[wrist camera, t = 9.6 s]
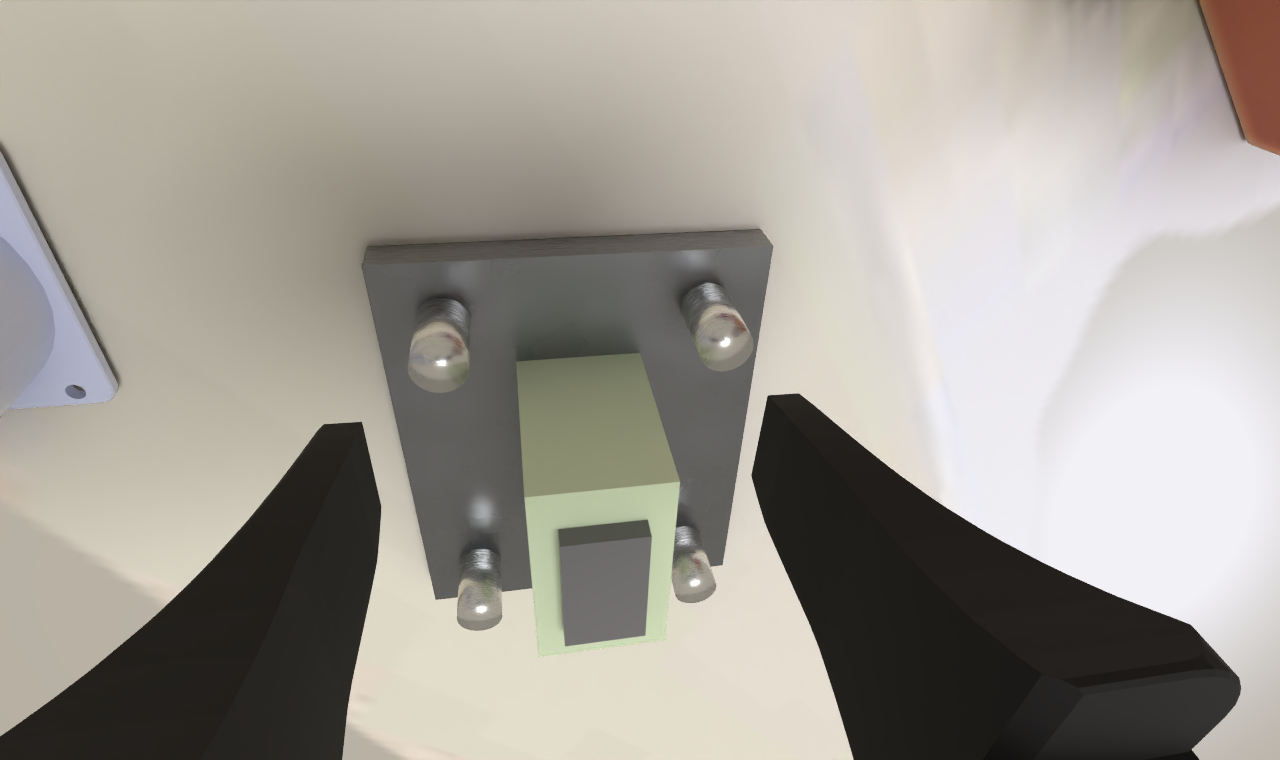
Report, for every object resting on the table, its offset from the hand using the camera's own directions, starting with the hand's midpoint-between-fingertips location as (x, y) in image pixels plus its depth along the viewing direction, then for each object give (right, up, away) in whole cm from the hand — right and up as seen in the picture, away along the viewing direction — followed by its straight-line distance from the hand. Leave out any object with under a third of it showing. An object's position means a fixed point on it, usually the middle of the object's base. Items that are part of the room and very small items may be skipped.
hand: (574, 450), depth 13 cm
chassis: (-1, 0, +13) cm, 13 cm away
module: (-1, -1, +12) cm, 12 cm away
